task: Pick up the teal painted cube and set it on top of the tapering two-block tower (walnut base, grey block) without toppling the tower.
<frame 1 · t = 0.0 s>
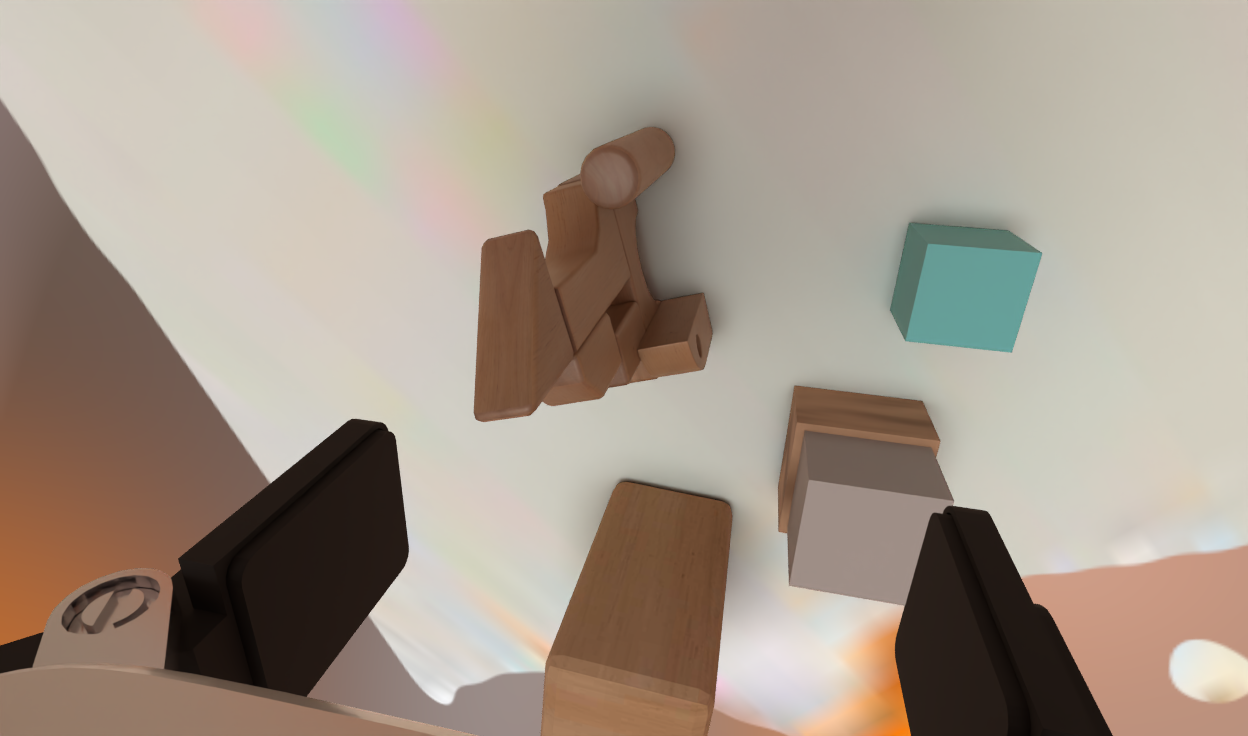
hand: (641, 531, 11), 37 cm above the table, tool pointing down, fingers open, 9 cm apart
tower mid: (855, 489, 45), point 6 cm above the table, touching tower base
wooden block: (667, 533, 57), on the table
wooden toy: (649, 244, 47), on the table
teal cube: (946, 271, 44), on the table
tower base: (846, 444, 50), on the table, touching tower mid
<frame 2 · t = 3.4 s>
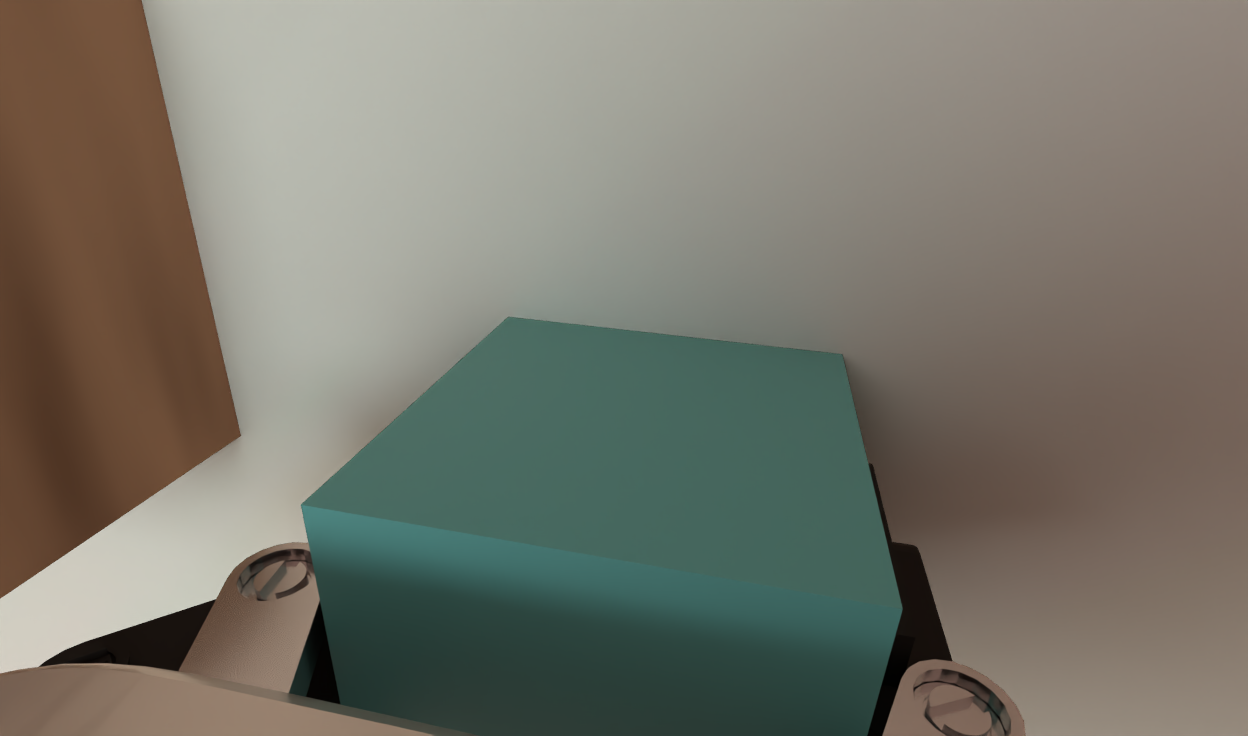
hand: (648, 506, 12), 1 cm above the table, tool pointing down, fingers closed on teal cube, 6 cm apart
teal cube: (657, 476, 13), on the table, touching gripper
tower base: (17, 216, 14), on the table, touching tower mid
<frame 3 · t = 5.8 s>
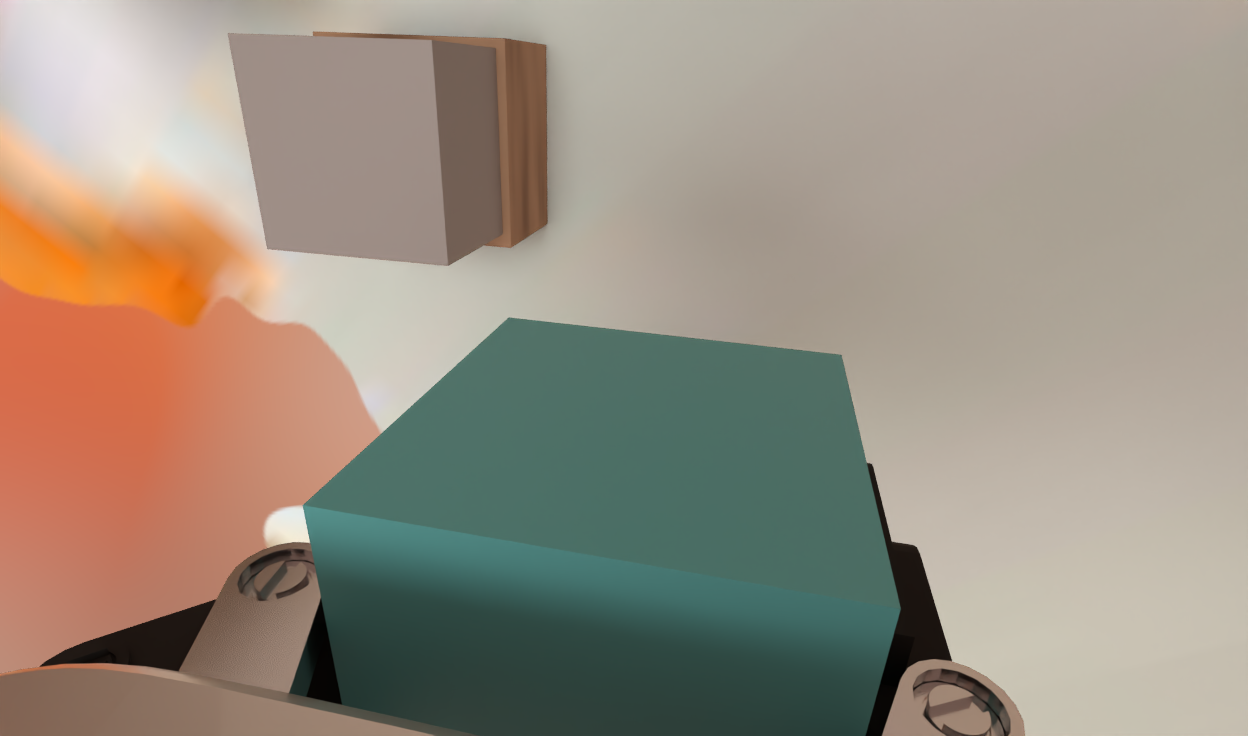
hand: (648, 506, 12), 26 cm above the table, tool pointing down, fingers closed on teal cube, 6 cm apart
tower mid: (417, 141, 31), point 6 cm above the table, touching tower base
teal cube: (657, 476, 13), point 25 cm above the table, touching gripper
tower base: (468, 134, 36), on the table, touching tower mid
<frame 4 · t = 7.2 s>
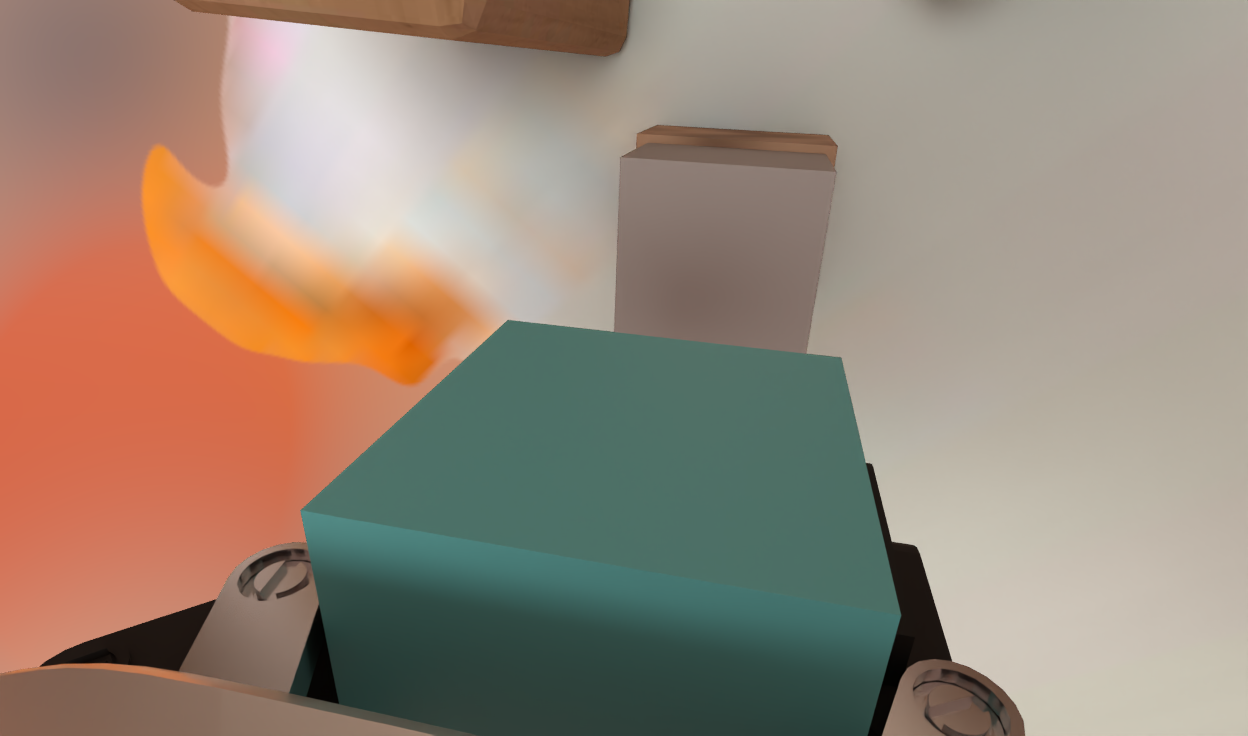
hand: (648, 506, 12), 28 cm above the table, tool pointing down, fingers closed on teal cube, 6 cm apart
tower mid: (725, 235, 32), point 6 cm above the table
teal cube: (657, 479, 13), point 27 cm above the table, touching gripper
tower base: (732, 214, 37), on the table
when the fingers open (14 cm above the table, at t = 10.9 s): teal cube drops 1 cm, resting on tower mid.
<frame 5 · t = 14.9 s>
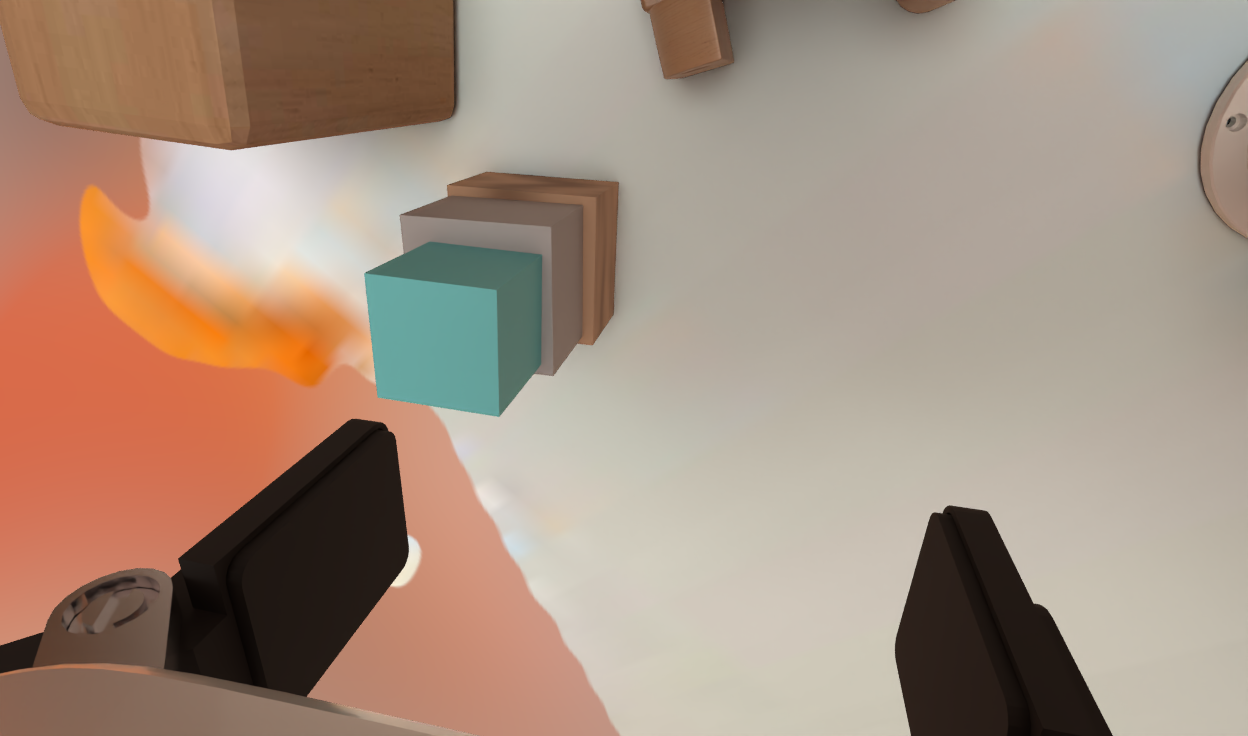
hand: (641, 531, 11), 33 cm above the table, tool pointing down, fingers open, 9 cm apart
tower mid: (518, 267, 40), point 6 cm above the table, touching teal cube, tower base
wooden block: (387, 28, 42), on the table
teal cube: (486, 304, 34), point 12 cm above the table, touching tower mid
tower base: (552, 244, 45), on the table, touching tower mid
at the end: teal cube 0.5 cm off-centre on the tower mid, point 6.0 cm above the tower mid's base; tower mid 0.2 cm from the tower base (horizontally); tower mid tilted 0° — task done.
